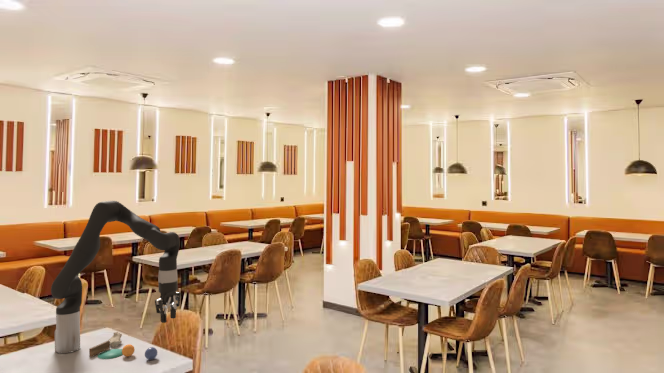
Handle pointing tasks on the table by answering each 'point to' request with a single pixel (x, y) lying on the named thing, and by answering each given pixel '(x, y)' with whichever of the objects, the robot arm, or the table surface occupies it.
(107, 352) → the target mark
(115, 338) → the coral
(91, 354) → the rail
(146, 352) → the blue ball
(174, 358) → the table surface
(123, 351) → the orange ball
